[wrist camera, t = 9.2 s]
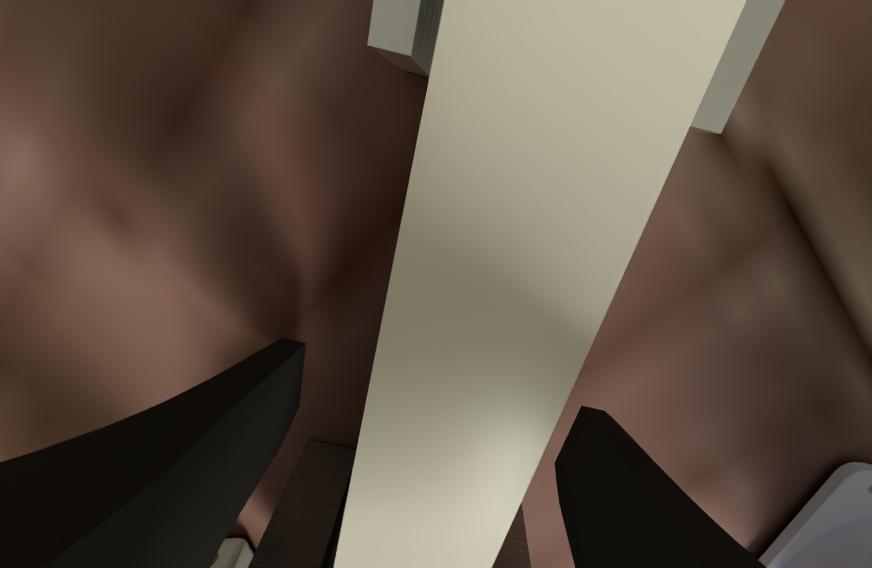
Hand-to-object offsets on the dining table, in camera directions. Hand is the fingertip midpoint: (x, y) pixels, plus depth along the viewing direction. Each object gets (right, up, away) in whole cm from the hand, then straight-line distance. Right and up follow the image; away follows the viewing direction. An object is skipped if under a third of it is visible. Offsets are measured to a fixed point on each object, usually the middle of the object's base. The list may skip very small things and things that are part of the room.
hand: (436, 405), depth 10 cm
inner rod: (+1, +3, 0) cm, 3 cm away
